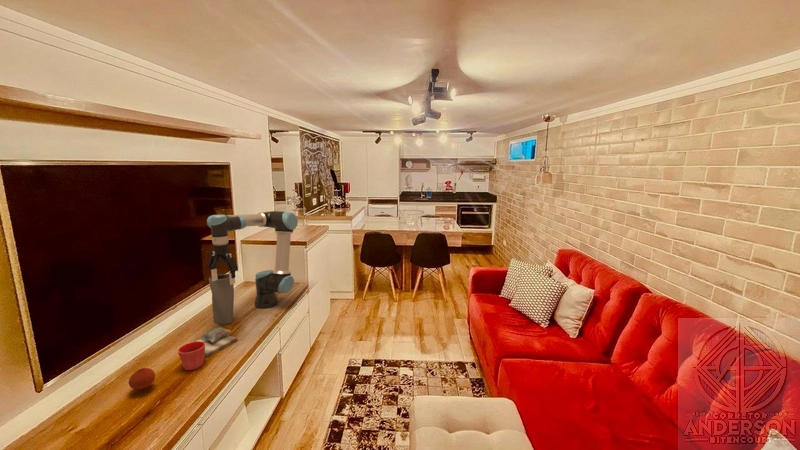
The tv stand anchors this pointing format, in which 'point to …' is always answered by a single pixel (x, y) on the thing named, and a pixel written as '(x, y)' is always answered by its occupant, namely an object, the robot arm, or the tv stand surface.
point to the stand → (217, 345)
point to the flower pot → (192, 355)
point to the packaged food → (215, 334)
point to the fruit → (142, 378)
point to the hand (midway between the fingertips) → (223, 282)
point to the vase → (222, 299)
